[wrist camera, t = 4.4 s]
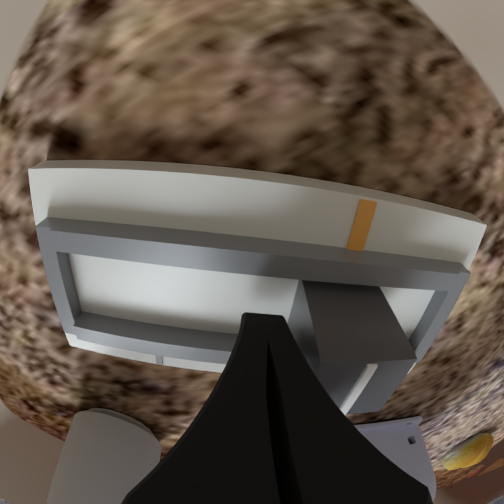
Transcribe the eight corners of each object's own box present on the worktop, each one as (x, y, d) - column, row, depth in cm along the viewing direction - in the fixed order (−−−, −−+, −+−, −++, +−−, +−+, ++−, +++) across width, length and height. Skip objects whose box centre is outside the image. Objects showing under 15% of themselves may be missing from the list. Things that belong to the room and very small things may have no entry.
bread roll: (472, 431, 25) (481, 454, 22) (495, 428, 27) (503, 447, 24) (429, 461, 29) (435, 482, 25) (457, 456, 31) (463, 474, 27)
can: (69, 417, 19) (36, 528, 9) (89, 390, 17) (44, 539, 6) (142, 452, 22) (124, 559, 11) (180, 433, 19) (163, 573, 9)
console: (471, 213, 10) (501, 236, 9) (401, 358, 15) (414, 387, 13) (45, 160, 9) (11, 177, 7) (78, 329, 14) (62, 359, 12)
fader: (375, 280, 11) (418, 361, 7) (353, 333, 12) (379, 413, 8) (300, 273, 10) (321, 364, 7) (285, 330, 12) (295, 418, 8)
